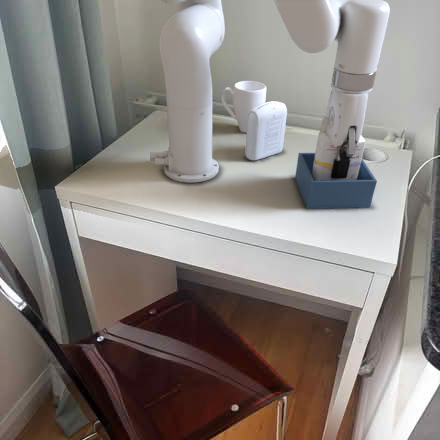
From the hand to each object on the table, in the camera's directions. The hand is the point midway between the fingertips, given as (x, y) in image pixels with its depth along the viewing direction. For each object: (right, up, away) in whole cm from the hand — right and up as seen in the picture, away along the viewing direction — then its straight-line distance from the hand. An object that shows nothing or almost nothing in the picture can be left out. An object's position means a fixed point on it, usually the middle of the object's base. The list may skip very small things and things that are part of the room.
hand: (335, 170), depth 95 cm
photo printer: (-13, +8, +17) cm, 23 cm away
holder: (0, -4, +3) cm, 5 cm away
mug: (-18, +19, +29) cm, 39 cm away
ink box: (0, -3, +3) cm, 5 cm away
